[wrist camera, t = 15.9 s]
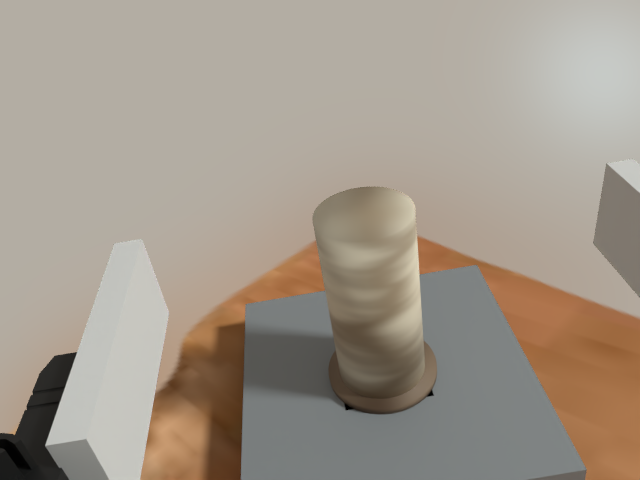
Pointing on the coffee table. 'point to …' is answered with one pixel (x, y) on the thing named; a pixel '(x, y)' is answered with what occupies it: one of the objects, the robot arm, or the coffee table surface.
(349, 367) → the ash leg
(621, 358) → the coffee table surface
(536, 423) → the leg board
